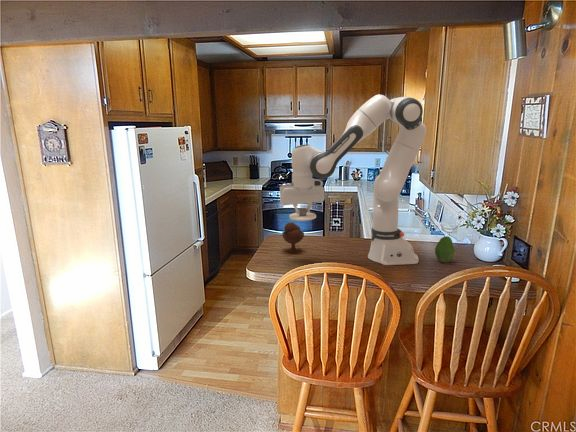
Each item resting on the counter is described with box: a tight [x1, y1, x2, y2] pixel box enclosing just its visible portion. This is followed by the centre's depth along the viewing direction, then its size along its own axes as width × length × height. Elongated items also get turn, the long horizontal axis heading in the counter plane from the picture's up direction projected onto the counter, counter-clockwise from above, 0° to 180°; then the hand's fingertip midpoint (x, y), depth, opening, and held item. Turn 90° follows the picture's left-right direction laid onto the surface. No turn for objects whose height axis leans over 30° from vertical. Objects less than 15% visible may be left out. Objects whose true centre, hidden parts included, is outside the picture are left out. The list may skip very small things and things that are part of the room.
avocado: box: [434, 235, 455, 264], centre depth 164 cm, size 8×8×12 cm
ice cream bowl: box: [281, 221, 305, 254], centre depth 181 cm, size 11×11×15 cm
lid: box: [289, 207, 317, 222], centre depth 165 cm, size 12×12×4 cm
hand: (302, 212), depth 165 cm, fingers closed on lid, 3 cm apart
